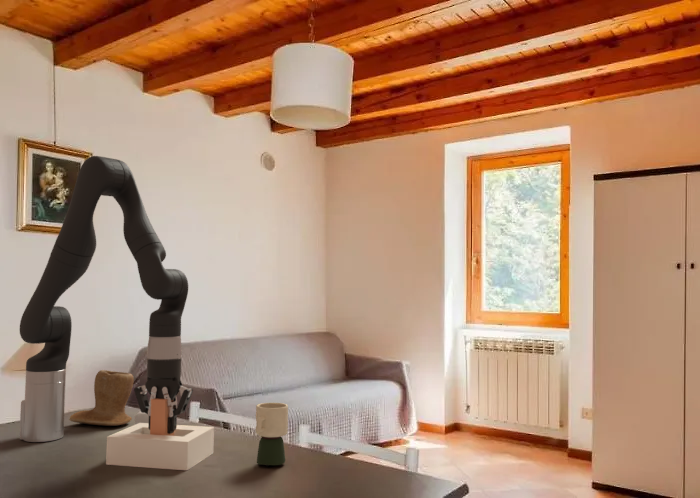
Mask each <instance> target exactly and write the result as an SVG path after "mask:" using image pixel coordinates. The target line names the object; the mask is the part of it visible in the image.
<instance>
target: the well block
mask: <svg viewBox="0 0 700 498" xmlns="http://www.w3.org/2000/svg"><path fill="white" fill-rule="evenodd" d="M148 426H149V423H138V424H136V425H135V424H134V425H133V424H132V425H131V426H129V427H126V428H124V429H122V430H120V431H117V432H114V433H113V434H110V435H107V436H106V455H105V456H106V459H105V465H107V466H108V465H109V466H110V465H111V466H121V467H135V468H149V469H150V468H151V469H163V470H174V471H175V470H178V471H188V470H190V469H192V468H193V467H195V466H196V465H198V464H199V463H201V462H202V461H204V460H206V458H209V457H210V456H211V455H213V454H214V444H215V443H214V442H215V441H214V440H215V427H214V426H204V425H203V426H201V425H187V424H186V425H181V424H177V427H176V430H174V436H166V435H150V430H149V428H148Z"/></svg>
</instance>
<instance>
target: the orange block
mask: <svg viewBox="0 0 700 498" xmlns="http://www.w3.org/2000/svg"><path fill="white" fill-rule="evenodd" d="M172 401H173V400H171V402H172ZM168 417H169V415H168V407H167V399H159V398H156V399H151V420H150V435H166V436H174V432H173V433H171V434H168V433H167V423H168Z"/></svg>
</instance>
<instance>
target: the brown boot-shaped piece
mask: <svg viewBox="0 0 700 498" xmlns="http://www.w3.org/2000/svg"><path fill="white" fill-rule="evenodd" d="M134 381H135V379H134V376H133V374H132V373H130V372H124V371H123V372H122V371H115V370H113V371H111V370H106V369H100V370H98V372H97V373H96V375H95V378H94V382H93V384H94V385H93V389H94V407H93V408H92V409H87V410H80V411H77V412H75V413H73V414H71V415H70V416H69V419H68V420H69V421H70V422H72V423H73V422H74V423H77V424H84V425H91V426H102V427H103V426H105V427H107V426H108V427H110V426H120V425H121V426H122V425H126V424H128V423H130V422H131V421H132V416H130V415H128V414H127V413H126V410H125V409H126V405H127V403H128V400H129V399H130V396H131V393H132V391H133V387H134Z"/></svg>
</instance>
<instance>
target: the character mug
mask: <svg viewBox="0 0 700 498" xmlns="http://www.w3.org/2000/svg"><path fill="white" fill-rule="evenodd" d="M255 420H256V424H255V425H256V426H255V434H257V436H260V440H259V444H258V449H257V455H256V456H257V457H256V464H257V465H265V466H266V467H267V468H268V467H269V466H281V465H283V464H285V463H286V454H285V453H286V451H285V443H284V439H283V436H286V435H288V430H289V429H288V427H289V425H288V424H289V406H288V404H287V403H283V402H262V403H258V404H256V405H255Z"/></svg>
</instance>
